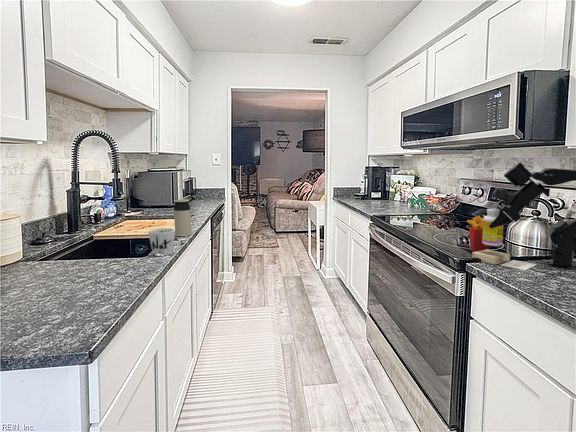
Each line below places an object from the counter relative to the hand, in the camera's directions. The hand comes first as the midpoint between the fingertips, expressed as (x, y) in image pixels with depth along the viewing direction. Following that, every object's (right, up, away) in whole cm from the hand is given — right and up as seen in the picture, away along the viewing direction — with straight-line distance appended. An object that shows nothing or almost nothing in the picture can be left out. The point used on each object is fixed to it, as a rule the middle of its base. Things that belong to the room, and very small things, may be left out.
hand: (488, 225), depth 147 cm
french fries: (+2, -11, +13) cm, 17 cm away
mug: (-125, -12, +20) cm, 127 cm away
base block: (+1, -13, +1) cm, 13 cm away
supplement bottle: (+1, -7, +1) cm, 7 cm away
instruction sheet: (+8, -14, -6) cm, 17 cm away
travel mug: (-126, -6, +56) cm, 138 cm away
